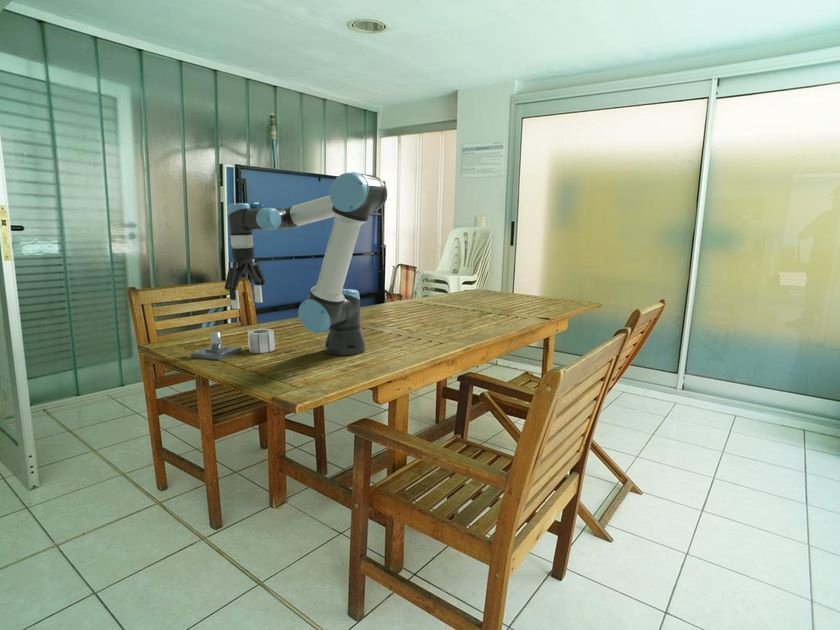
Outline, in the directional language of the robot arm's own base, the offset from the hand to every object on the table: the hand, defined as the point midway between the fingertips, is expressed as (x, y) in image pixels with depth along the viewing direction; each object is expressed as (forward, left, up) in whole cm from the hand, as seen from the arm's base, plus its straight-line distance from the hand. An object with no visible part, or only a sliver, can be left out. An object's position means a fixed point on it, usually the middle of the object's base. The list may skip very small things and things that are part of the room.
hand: (247, 305), depth 182 cm
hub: (-4, -1, -17) cm, 17 cm away
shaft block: (+8, +9, -17) cm, 21 cm away
